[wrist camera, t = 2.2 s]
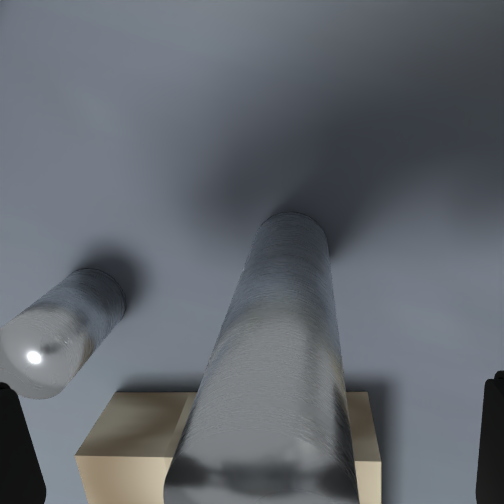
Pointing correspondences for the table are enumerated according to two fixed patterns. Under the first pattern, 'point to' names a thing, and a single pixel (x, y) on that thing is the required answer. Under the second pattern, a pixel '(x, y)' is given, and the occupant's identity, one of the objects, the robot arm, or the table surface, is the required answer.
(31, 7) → the table surface
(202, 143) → the table surface
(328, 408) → the long pin
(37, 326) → the short pin
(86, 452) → the bored block
